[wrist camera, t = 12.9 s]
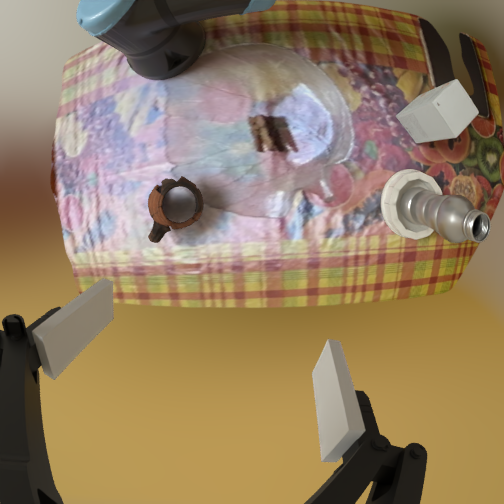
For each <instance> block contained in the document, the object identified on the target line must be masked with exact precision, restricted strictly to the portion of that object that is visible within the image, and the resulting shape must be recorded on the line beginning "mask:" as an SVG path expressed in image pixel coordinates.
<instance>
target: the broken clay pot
mask: <svg viewBox="0 0 504 504" xmlns="http://www.w3.org/2000/svg"><path fill="white" fill-rule="evenodd" d="M161 183H162V186H161V193H159V192H158V191H157V190H158V189H159V185H156V186H155V187H154V189H153V190H152V192H151V194H150V195H149V199H148V207H149V212H150V215H151V217H152V218H153V220H154V225H153V228H152V231H151V233H150V234H149V236H148V238H149V240H150V241H151V242H154V243H158V242H159V241H160V240H161V239H162V238H163V236H164V234H165V233H166V232H169V231H171V229H170V228H169V226H171V227H172V229H179V228H184V227H187V226H189V225H191V224H192V223H194V222H195V221H197V220H198V219H199V217H200V216H201V213H202V210H203V199H202V195H201V192H200V190H199V189H197V187H196V185H195V184H194V183H192V182H191V181H189V180H187V179H186V178H185V177H183V176H181V178H180V179H179V180H178V181H177V182H176V181H175V180H173V179H165V180H163V181H162V182H161ZM178 186H182V187H186V188H188V189H189V190H191V191H192V193H193V194H194V196H195V198H196V210H195V212H196V213H195V214H194V216H193V217H192V218H190V219H189V220H187V221H185V222H181V223H176V222H172V221H171V220H169V219H168V218H167V217H166V216H165V214H164V212H163V208H162V203H163V199H164V196H165V194H166V193H167V192H168V191H169V190H170V189H172V188H174V187H178Z"/></svg>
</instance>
